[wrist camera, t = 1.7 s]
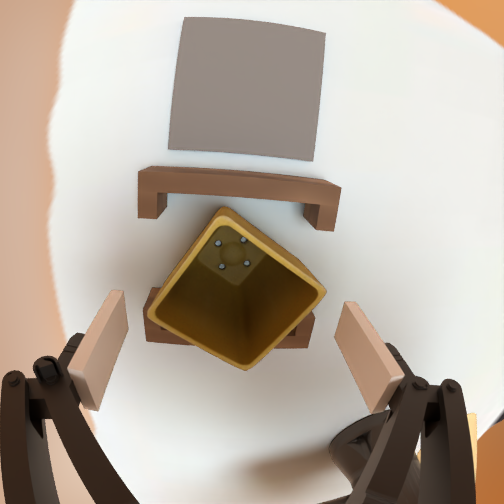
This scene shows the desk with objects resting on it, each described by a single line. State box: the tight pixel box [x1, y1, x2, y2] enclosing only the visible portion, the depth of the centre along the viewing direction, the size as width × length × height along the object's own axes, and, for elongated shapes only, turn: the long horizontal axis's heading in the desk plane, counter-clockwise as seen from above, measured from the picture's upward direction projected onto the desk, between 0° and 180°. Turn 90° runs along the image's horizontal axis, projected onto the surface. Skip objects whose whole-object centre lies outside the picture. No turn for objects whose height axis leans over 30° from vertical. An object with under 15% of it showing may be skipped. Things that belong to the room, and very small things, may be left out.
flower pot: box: [147, 206, 326, 371], centre depth 23 cm, size 9×9×9 cm
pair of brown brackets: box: [138, 166, 341, 348], centre depth 25 cm, size 15×15×4 cm
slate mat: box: [168, 17, 326, 161], centre depth 21 cm, size 12×12×1 cm
